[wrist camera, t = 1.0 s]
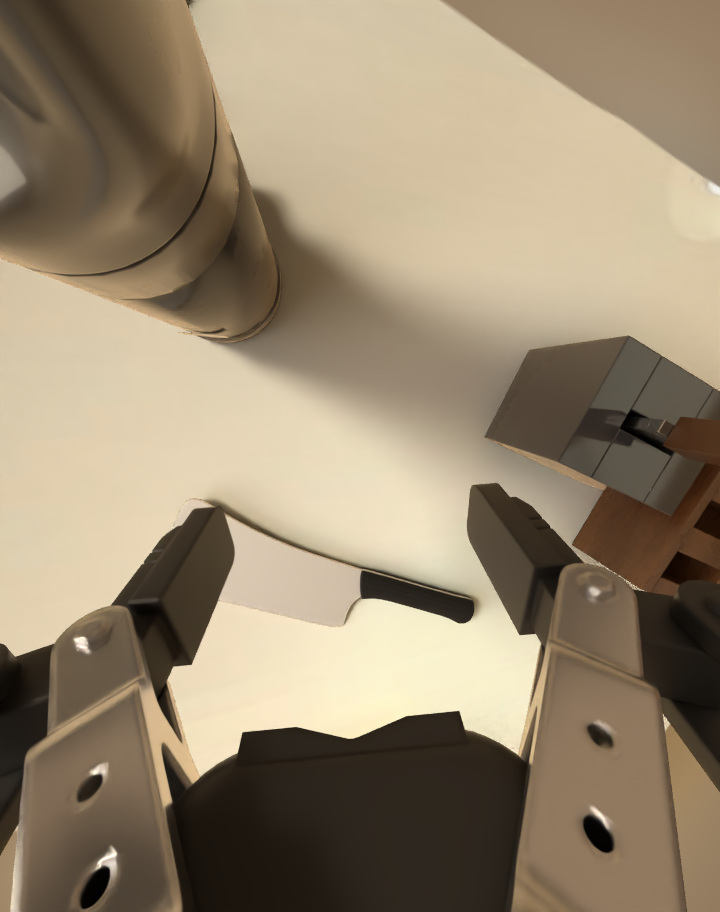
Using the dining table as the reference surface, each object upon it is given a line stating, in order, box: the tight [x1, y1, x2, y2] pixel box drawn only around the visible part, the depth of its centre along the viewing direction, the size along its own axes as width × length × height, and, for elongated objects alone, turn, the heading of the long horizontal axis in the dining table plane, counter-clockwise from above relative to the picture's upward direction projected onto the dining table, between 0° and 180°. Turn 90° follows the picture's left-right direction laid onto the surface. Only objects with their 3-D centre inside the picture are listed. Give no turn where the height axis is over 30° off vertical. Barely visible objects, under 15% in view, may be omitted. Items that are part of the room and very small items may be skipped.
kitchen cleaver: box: [172, 498, 474, 627], centre depth 32 cm, size 31×2×10 cm
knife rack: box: [572, 463, 720, 596], centre depth 31 cm, size 8×16×8 cm, turn 156°
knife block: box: [485, 336, 720, 516], centre depth 27 cm, size 11×9×10 cm
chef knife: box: [620, 416, 720, 466], centre depth 22 cm, size 4×2×21 cm, turn 66°
